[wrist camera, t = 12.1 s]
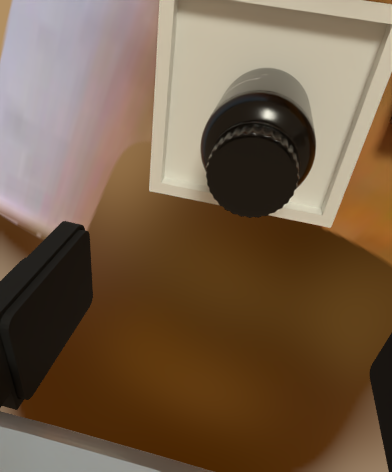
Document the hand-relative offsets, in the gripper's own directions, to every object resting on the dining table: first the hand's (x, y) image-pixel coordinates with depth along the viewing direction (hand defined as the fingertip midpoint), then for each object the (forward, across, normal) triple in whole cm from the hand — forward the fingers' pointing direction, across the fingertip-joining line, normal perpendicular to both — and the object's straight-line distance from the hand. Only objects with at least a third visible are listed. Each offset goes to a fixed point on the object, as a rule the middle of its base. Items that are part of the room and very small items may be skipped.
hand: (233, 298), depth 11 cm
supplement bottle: (+22, 0, 0) cm, 22 cm away
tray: (+22, +1, 0) cm, 22 cm away
